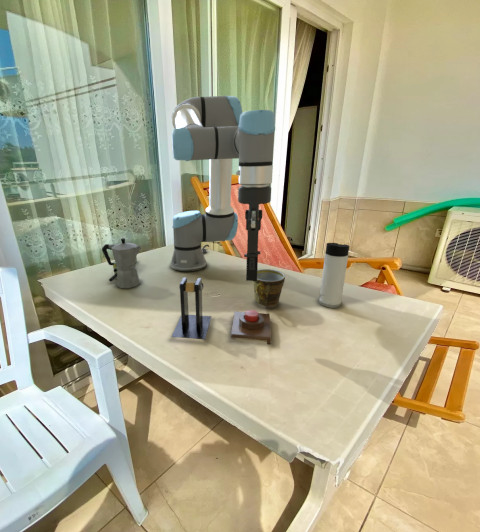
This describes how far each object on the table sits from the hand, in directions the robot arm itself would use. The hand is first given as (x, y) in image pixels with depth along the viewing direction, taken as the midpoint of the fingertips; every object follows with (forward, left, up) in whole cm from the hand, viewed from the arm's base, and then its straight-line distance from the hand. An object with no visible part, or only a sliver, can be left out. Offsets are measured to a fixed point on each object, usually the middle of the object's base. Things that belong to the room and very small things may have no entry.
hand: (251, 279), depth 78 cm
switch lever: (-2, -16, -6) cm, 17 cm away
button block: (0, 0, -15) cm, 15 cm away
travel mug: (-19, +24, -15) cm, 35 cm away
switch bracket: (+2, -16, -15) cm, 22 cm away
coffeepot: (-26, -48, -15) cm, 56 cm away
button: (0, 0, -12) cm, 12 cm away
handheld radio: (-38, -54, -15) cm, 67 cm away
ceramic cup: (-15, +4, -15) cm, 22 cm away
